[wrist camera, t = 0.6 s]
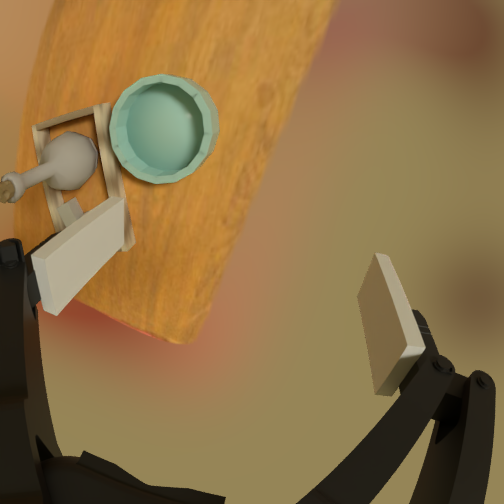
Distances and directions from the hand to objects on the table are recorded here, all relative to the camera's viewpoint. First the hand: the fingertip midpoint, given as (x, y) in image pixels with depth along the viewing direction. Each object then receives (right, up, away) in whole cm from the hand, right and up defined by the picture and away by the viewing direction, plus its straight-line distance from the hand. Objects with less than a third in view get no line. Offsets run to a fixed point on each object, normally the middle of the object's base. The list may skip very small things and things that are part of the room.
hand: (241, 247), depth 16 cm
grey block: (-29, +7, +32) cm, 44 cm away
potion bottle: (-26, +15, +27) cm, 40 cm away
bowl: (-11, +16, +24) cm, 31 cm away
